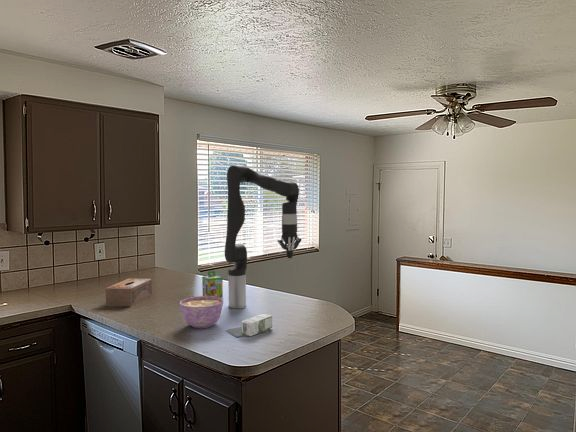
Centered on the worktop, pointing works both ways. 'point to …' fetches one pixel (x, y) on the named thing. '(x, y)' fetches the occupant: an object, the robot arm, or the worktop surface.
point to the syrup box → (256, 324)
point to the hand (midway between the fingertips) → (289, 258)
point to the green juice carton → (212, 285)
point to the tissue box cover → (128, 292)
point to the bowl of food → (201, 310)
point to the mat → (238, 332)
